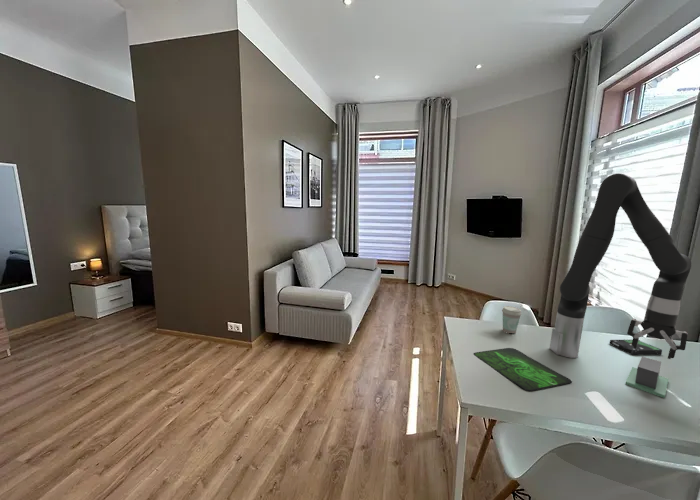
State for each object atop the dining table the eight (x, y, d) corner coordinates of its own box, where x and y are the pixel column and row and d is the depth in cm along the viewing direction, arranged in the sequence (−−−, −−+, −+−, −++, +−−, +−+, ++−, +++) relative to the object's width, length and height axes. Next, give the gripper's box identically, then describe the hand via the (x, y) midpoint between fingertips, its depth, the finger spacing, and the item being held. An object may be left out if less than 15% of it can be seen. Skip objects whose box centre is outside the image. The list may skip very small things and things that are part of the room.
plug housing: (635, 382, 103) (637, 366, 102) (639, 371, 111) (642, 356, 110) (655, 389, 99) (658, 372, 99) (658, 377, 107) (661, 361, 106)
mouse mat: (470, 353, 122) (470, 351, 122) (511, 347, 129) (511, 345, 129) (527, 393, 97) (527, 391, 96) (574, 383, 103) (575, 381, 103)
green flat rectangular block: (625, 384, 104) (626, 377, 103) (632, 369, 114) (633, 363, 113) (664, 398, 96) (666, 391, 96) (668, 381, 107) (669, 374, 106)
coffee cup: (503, 334, 142) (506, 310, 140) (497, 327, 150) (500, 305, 149) (521, 336, 141) (525, 312, 139) (515, 328, 149) (517, 306, 147)
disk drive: (632, 356, 126) (661, 355, 127) (633, 350, 125) (663, 349, 127) (608, 345, 136) (636, 344, 138) (609, 339, 135) (637, 338, 137)
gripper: (632, 305, 104) (622, 347, 107) (693, 319, 93) (680, 365, 96) (635, 301, 109) (626, 342, 111) (694, 314, 98) (682, 358, 100)
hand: (651, 352), depth 104 cm, fingers open, 8 cm apart
